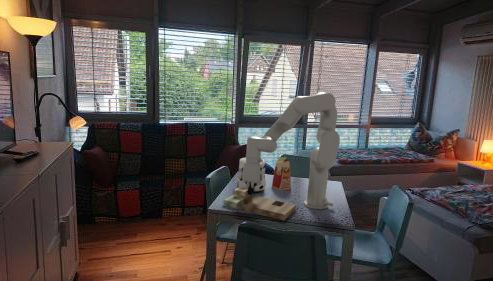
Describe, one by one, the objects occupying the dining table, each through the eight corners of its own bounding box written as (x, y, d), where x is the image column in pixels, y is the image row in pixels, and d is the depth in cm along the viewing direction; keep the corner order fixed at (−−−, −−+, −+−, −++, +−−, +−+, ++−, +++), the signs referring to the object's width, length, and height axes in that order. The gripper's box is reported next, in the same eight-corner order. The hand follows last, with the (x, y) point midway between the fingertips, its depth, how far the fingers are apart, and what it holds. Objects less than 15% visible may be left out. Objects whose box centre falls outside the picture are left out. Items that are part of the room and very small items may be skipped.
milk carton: (291, 188, 206) (294, 157, 202) (279, 190, 200) (282, 158, 197) (281, 184, 213) (284, 154, 210) (270, 186, 208) (272, 155, 204)
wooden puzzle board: (295, 210, 169) (295, 204, 169) (284, 220, 155) (284, 214, 155) (238, 197, 184) (238, 191, 183) (223, 205, 170) (223, 199, 169)
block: (248, 195, 179) (249, 188, 178) (244, 198, 173) (244, 191, 173) (238, 193, 181) (239, 186, 181) (234, 196, 176) (234, 189, 175)
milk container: (270, 189, 201) (272, 160, 198) (256, 196, 187) (258, 165, 184) (245, 183, 210) (247, 155, 207) (230, 190, 195) (232, 160, 192)
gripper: (269, 161, 173) (266, 195, 176) (243, 157, 179) (241, 189, 182) (263, 164, 166) (260, 199, 169) (236, 159, 173) (234, 193, 176)
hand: (250, 194), depth 176 cm, fingers closed
